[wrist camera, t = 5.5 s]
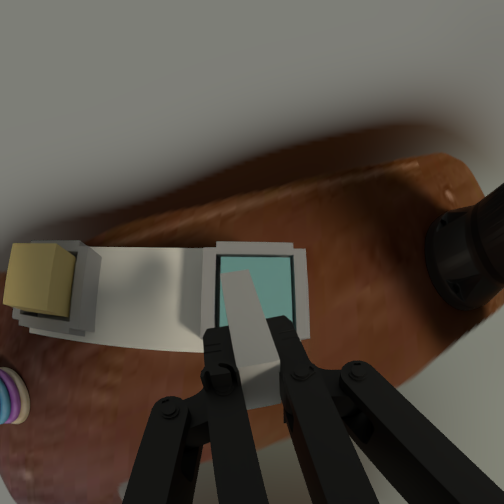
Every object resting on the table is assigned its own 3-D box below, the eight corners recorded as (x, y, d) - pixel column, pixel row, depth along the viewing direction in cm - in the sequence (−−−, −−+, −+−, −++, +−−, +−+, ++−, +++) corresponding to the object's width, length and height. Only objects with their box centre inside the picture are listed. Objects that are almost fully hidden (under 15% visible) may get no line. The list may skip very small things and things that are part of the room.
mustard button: (76, 257, 22) (56, 243, 19) (68, 317, 21) (46, 310, 17) (34, 256, 22) (13, 243, 19) (25, 311, 20) (2, 303, 17)
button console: (282, 273, 34) (304, 237, 24) (284, 351, 31) (310, 351, 21) (73, 268, 32) (25, 235, 22) (67, 339, 29) (11, 328, 19)
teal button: (282, 270, 26) (289, 257, 22) (284, 330, 24) (292, 326, 21) (222, 269, 25) (220, 256, 22) (221, 330, 24) (219, 326, 20)
